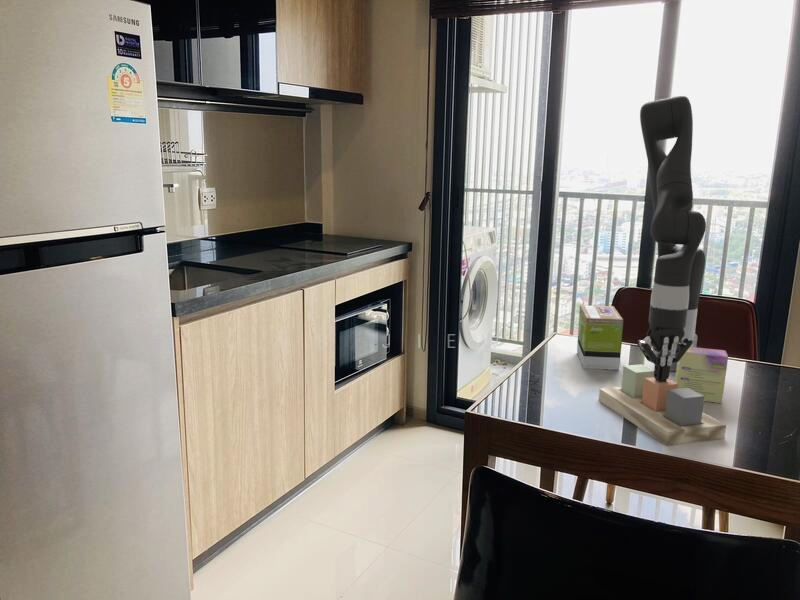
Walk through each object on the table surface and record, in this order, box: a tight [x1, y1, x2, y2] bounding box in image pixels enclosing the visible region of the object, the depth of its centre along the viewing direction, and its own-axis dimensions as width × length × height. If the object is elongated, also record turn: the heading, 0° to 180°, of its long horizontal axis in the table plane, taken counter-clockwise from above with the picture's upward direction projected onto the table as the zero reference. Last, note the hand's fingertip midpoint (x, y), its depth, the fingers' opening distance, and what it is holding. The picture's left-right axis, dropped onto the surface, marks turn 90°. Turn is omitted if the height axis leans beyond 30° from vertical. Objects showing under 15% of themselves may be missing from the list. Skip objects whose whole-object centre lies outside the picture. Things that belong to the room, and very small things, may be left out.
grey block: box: [665, 388, 705, 427], centre depth 137 cm, size 5×5×6 cm
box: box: [674, 346, 729, 404], centre depth 158 cm, size 10×6×12 cm, turn 71°
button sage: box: [620, 363, 654, 399], centre depth 152 cm, size 5×5×6 cm
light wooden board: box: [598, 386, 727, 446], centre depth 146 cm, size 14×25×3 cm, turn 15°
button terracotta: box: [642, 377, 678, 412], centre depth 145 cm, size 5×5×6 cm
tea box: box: [576, 304, 624, 371], centre depth 183 cm, size 15×10×15 cm, turn 172°
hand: (660, 380), depth 144 cm, fingers closed
